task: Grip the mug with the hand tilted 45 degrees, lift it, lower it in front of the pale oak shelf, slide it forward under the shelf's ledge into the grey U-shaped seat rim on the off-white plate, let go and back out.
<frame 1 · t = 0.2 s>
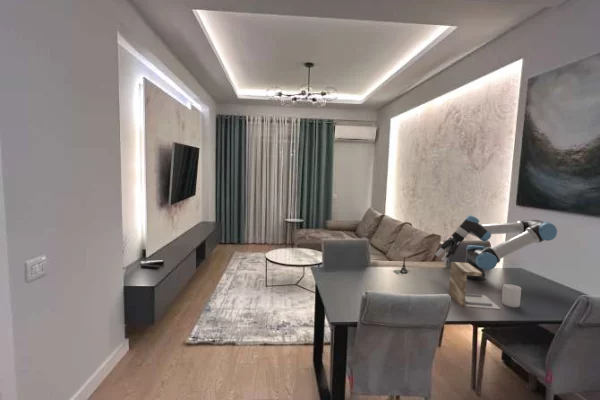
hand: (439, 258, 225), 15 cm above the table, tool tilted 35°, fingers open, 13 cm apart
overhang shelf: (463, 300, 189), resting in seat plate
mug: (508, 303, 186), on the table
seat plate: (475, 301, 188), on the table
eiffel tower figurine: (403, 272, 242), on the table
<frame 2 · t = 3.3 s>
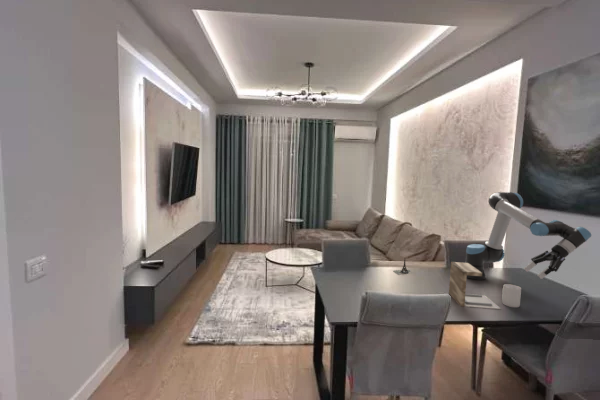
hand: (531, 273, 183), 19 cm above the table, tool tilted 45°, fingers open, 13 cm apart
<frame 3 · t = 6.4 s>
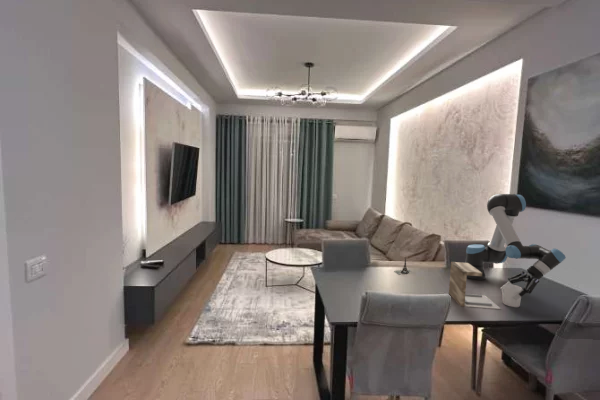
hand: (507, 294, 185), 6 cm above the table, tool tilted 45°, fingers open, 13 cm apart
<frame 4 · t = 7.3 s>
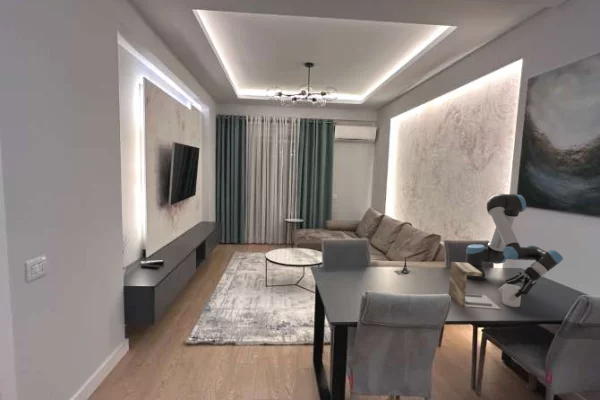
hand: (504, 295, 186), 5 cm above the table, tool tilted 45°, fingers closed on mug, 12 cm apart
mug: (508, 303, 186), on the table, touching gripper
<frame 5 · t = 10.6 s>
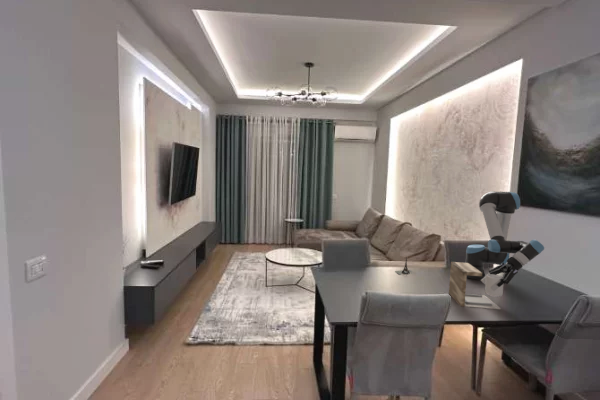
hand: (487, 285, 187), 10 cm above the table, tool tilted 45°, fingers closed on mug, 12 cm apart
mug: (491, 293, 187), point 5 cm above the table, touching gripper
when the fingers open (6 cm above the table, at t = 13.9 s): mug stays where it is, resting on seat plate.
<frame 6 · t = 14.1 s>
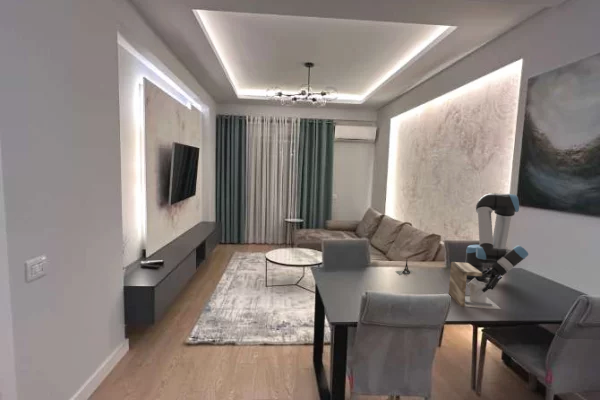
hand: (472, 290, 188), 6 cm above the table, tool tilted 45°, fingers open, 13 cm apart
mug: (475, 300, 189), resting on seat plate
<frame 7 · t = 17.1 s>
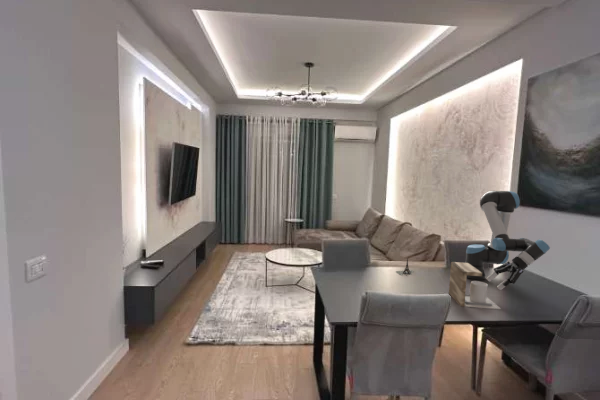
hand: (492, 284, 189), 10 cm above the table, tool tilted 45°, fingers open, 13 cm apart
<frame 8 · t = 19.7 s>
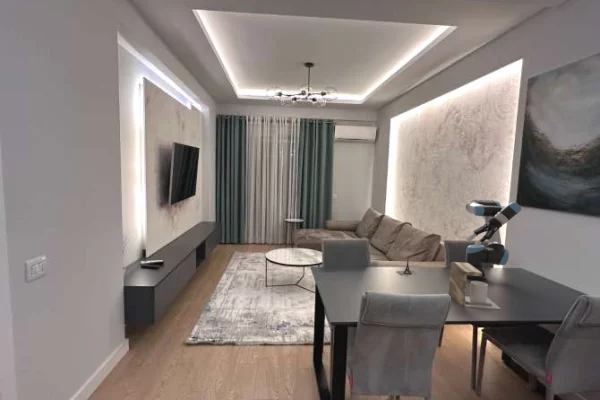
hand: (471, 242, 211), 30 cm above the table, tool tilted 45°, fingers open, 13 cm apart
at the end: mug inside the target area on the seat plate (0.3 cm from its centre), point 0.3 cm above the seat plate's base; mug tilted 0°; the gripper is holding nothing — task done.
